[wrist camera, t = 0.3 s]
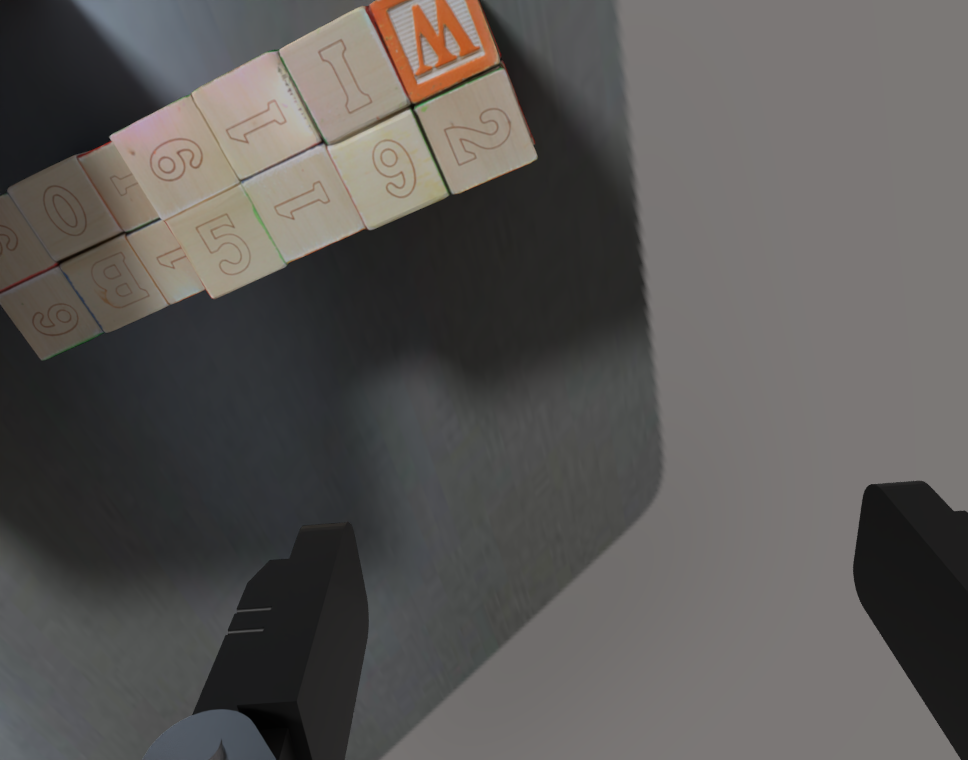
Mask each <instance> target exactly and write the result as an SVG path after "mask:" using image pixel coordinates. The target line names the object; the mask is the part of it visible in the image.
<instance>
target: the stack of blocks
mask: <svg viewBox="0 0 968 760" xmlns="http://www.w3.org/2000/svg"><path fill="white" fill-rule="evenodd" d="M109 138H110V139H111V141H110V142H108V143H106V144H104V145H102V146H100V147H97V148H95V149H93V150H91V151H87V152H84V153H80V154H76V155H73V156H71V157H69V158H67V159H65V160H63V161H61V162H58V163H56V164H54V165H52V166H50V167H48V168H46V169H44V170H42V171H40V172H38V173H36V174H34V175H32V176H30V177H28V178H26V179H24V180H22V181H20V182H18V183H16V184H14V185H12V186H10V187H9V188H8V189H7V192H6V193H5V194H3V195H1V196H0V305H1V306H2V307H3V309H4V310H5V312H6V313H7V314H8V316H9V317H10V319H11V320H12V321H13V323H14V324H15V326H16V327H17V328H18V330H19V331H20V332H21V333H22V335H23V336H24V338H25V339H26V341H27V342H28V343H29V345H30V346H31V347H32V349H33V350H34V352H35V353H36V354H37V356H38V357H39V358H40V360H42V361H44V360H47V359H50V358H52V357H54V356H56V355H58V354H60V353H63V352H65V351H67V350H69V349H71V348H74V347H76V346H78V345H80V344H83V343H85V342H87V341H89V340H91V339H93V338H95V337H97V336H99V335H101V334H103V333H109V332H112V331H114V330H116V329H119V328H121V327H123V326H125V325H128V324H130V323H132V322H134V321H136V320H139V319H141V318H143V317H145V316H147V315H150V314H152V313H154V312H156V311H159V310H161V309H163V308H165V307H167V306H169V305H171V304H175V303H178V302H180V301H182V300H184V299H187V298H189V297H191V296H193V295H195V294H198V293H200V292H202V291H204V290H206V291H207V293H208V294H209V296H210V297H211V298H212V299H216V298H219V297H221V296H223V295H225V294H227V293H230V292H232V291H234V290H236V289H239V288H241V287H243V286H245V285H247V284H250V283H252V282H254V281H256V280H258V279H260V278H263V277H265V276H267V275H269V274H272V273H274V272H276V271H278V270H281V269H283V268H285V267H286V266H287V265H288V264H289V263H290V262H292V261H294V260H297V259H299V258H302V257H304V256H306V255H309V254H311V253H313V252H315V251H318V250H320V249H322V248H324V247H326V246H329V245H331V244H333V243H335V242H338V241H340V240H342V239H345V238H347V237H349V236H351V235H353V234H356V233H358V232H360V231H361V230H364V229H366V230H373V229H376V228H378V227H381V226H383V225H385V224H388V223H390V222H392V221H394V220H397V219H399V218H401V217H403V216H406V215H408V214H410V213H412V212H415V211H417V210H419V209H422V208H424V207H426V206H429V205H431V204H433V203H436V202H438V201H440V200H443V199H445V198H446V197H448V196H449V195H450V194H460V193H462V192H464V191H467V190H469V189H471V188H474V187H476V186H478V185H481V184H483V183H485V182H488V181H490V180H493V179H495V178H497V177H500V176H502V175H505V174H507V173H509V172H512V171H514V170H516V169H519V168H521V167H523V166H526V165H528V164H530V163H532V162H534V161H535V160H537V158H538V156H537V153H536V151H535V148H534V146H533V145H535V140H534V138H533V136H532V134H531V131H530V128H529V126H528V123H527V121H526V118H525V116H524V113H523V111H522V108H521V106H520V103H519V101H518V98H517V95H516V92H515V90H514V87H513V84H512V82H511V79H510V77H509V74H508V71H507V69H506V66H505V64H504V62H503V61H502V58H501V53H500V50H499V48H498V45H497V43H496V40H495V38H494V35H493V33H492V30H491V28H490V25H489V23H488V20H487V18H486V16H485V13H484V11H483V8H482V6H481V3H480V1H479V0H376V1H374V2H373V3H371V4H370V5H369V6H361V7H359V8H356V9H354V10H353V11H351V12H349V13H347V14H345V15H343V16H341V17H339V18H337V19H335V20H334V21H332V22H330V23H328V24H326V25H324V26H322V27H320V28H318V29H317V30H315V31H313V32H311V33H309V34H307V35H305V36H303V37H301V38H300V39H298V40H296V41H294V42H292V43H290V44H288V45H287V46H285V47H283V48H281V49H280V50H271V51H268V52H265V53H264V54H262V55H260V56H258V57H256V58H253V59H252V60H250V61H248V62H247V63H245V64H243V65H241V66H239V67H237V68H235V69H233V70H231V71H229V72H227V73H225V74H224V75H222V76H220V77H218V78H216V79H214V80H212V81H210V82H208V83H206V84H205V85H203V86H201V87H199V88H197V89H196V90H194V91H193V92H192V93H191V94H190V95H187V96H185V97H182V98H180V99H178V100H176V101H174V102H173V103H171V104H169V105H167V106H165V107H163V108H161V109H159V110H157V111H156V112H154V113H152V114H150V115H148V116H146V117H144V118H142V119H140V120H138V121H136V122H134V123H132V124H131V125H129V126H127V127H125V128H123V129H121V130H119V131H117V132H115V133H113V134H111V135H110V137H109Z"/></svg>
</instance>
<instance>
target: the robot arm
mask: <svg viewBox="0 0 968 760" xmlns="http://www.w3.org/2000/svg"><path fill="white" fill-rule="evenodd" d="M853 574H854V582H855V587H856V591H857V594H858V597H859V600H860V602H861V604H862V606H863V607H864V609H865V611H866V612H867V614H868V615H869V617H870V618H871V620H872V621H873V623H874V625H875V626H876V628H877V629H878V631H879V632H880V634H881V635H882V637H883V639H884V640H885V642H886V643H887V645H888V646H889V648H890V650H891V651H892V653H893V654H894V656H895V657H896V659H897V660H898V662H899V664H900V665H901V667H902V668H903V670H904V671H905V673H906V675H907V676H908V678H909V679H910V680H911V682H912V684H913V685H914V687H915V688H916V690H917V692H918V693H919V695H920V696H921V698H922V699H923V701H924V702H925V704H926V706H927V707H928V709H929V710H930V712H931V713H932V715H933V717H934V718H935V720H936V721H937V723H938V724H939V726H940V728H941V729H942V731H943V732H944V734H945V735H946V737H947V738H948V740H949V741H950V743H951V745H952V746H953V747H954V749H955V751H956V752H957V754H958V756H959V757H960V759H961V760H968V513H967V512H966V511H953V510H952V509H951V508H950V507H949V506H948V505H947V504H946V503H945V501H944V500H943V499H941V497H940V496H939V495H938V494H937V493H936V492H935V491H934V490H933V489H932V488H931V487H930V486H929V485H928V484H927V483H925V482H923V481H911V482H910V481H909V482H896V483H883V484H871V485H869V486H868V487H867V488H866V490H865V491H864V495H863V500H862V506H861V514H860V521H859V529H858V536H857V542H856V549H855V557H854V564H853ZM368 627H369V614H368V602H367V595H366V590H365V585H364V580H363V575H362V570H361V565H360V560H359V555H358V550H357V545H356V540H355V535H354V531H353V527H352V525H351V524H350V523H349V522H344V523H331V524H318V525H304V526H302V527H301V529H300V531H299V533H298V536H297V539H296V542H295V544H294V547H293V550H292V553H291V555H290V558H289V559H278V560H269V562H268V563H267V564H266V565H265V566H264V567H263V568H262V569H261V570H260V571H259V572H258V573H257V574H256V575H255V576H254V577H253V578H252V579H251V580H250V581H249V582H248V583H247V586H246V588H245V590H244V593H243V595H242V597H241V600H240V602H239V605H238V607H237V614H234V617H233V619H232V621H231V624H230V626H229V628H228V635H226V636H225V638H224V640H223V643H222V645H221V648H220V650H219V652H218V655H217V657H216V659H215V662H214V664H213V667H212V669H211V671H210V674H209V676H208V679H207V681H206V683H205V686H204V688H203V690H202V693H201V695H200V698H199V700H198V702H197V705H196V707H195V710H194V712H193V714H192V716H190V717H188V718H186V719H183V720H181V721H180V722H178V723H177V724H175V725H173V726H172V727H170V728H169V729H168V730H167V731H165V732H164V733H163V734H162V735H161V736H160V737H159V738H158V739H157V740H156V741H155V742H154V743H153V744H152V745H151V747H150V748H149V749H148V751H147V752H146V754H145V756H144V757H143V759H142V760H345V755H346V750H347V744H348V739H349V734H350V728H351V723H352V718H353V712H354V707H355V702H356V697H357V691H358V686H359V681H360V675H361V670H362V665H363V660H364V654H365V649H366V644H367V638H368Z"/></svg>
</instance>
